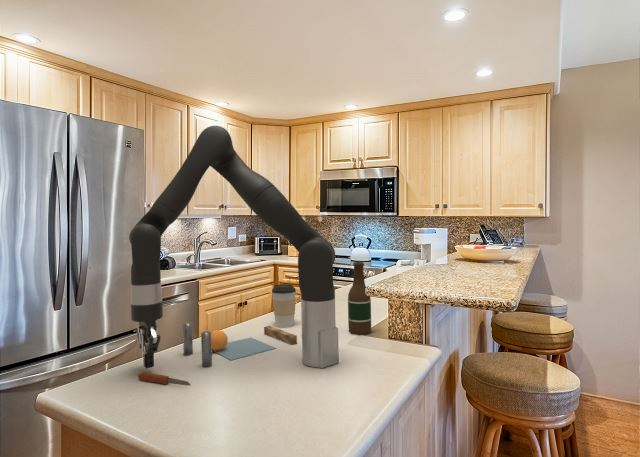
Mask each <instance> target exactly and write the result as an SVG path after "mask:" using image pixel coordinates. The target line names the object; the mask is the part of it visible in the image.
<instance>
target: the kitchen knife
mask: <svg viewBox="0 0 640 457" xmlns="http://www.w3.org/2000/svg"><path fill="white" fill-rule="evenodd" d="M137 378H138V379H139V380H140V381H141V382H148V383H157V384H163V385H165V386H167V385H169V384H172V385H179V386H181V385H182V386H189V387H190V386H191V383H190V382H189V381H187V380H183V379H179V378H175V377H169V375H164V374H159V373H153V372H145V371H142V372H140V373H138V377H137Z"/></svg>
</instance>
